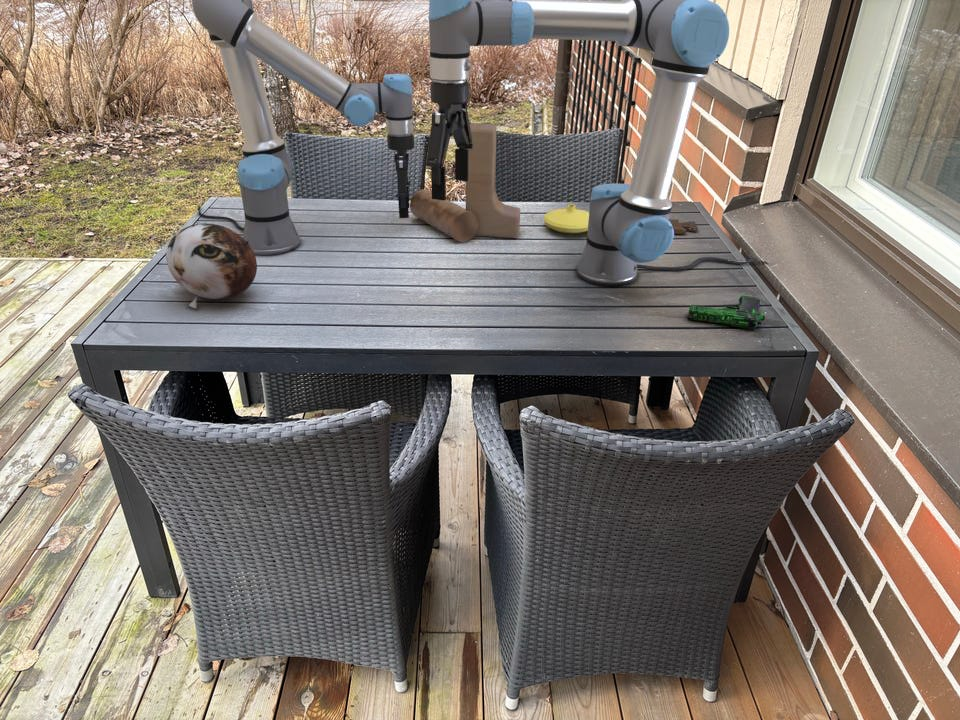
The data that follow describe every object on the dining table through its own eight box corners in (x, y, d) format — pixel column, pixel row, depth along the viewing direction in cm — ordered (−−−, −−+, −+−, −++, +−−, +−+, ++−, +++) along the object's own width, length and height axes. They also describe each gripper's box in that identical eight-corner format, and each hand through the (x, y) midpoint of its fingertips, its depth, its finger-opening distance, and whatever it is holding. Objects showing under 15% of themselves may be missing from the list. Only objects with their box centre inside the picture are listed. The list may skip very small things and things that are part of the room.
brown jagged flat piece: (700, 236, 208) (693, 224, 217) (701, 230, 207) (694, 219, 216) (612, 233, 208) (607, 221, 217) (613, 227, 207) (608, 216, 216)
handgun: (768, 297, 166) (764, 322, 154) (765, 309, 168) (761, 335, 156) (697, 286, 172) (687, 310, 159) (695, 297, 173) (685, 322, 161)
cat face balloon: (130, 285, 161) (164, 203, 163) (192, 308, 177) (221, 233, 178) (195, 307, 151) (229, 220, 152) (254, 330, 166) (285, 250, 168)
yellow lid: (559, 216, 220) (561, 193, 217) (605, 227, 212) (608, 204, 209) (532, 230, 209) (533, 207, 206) (580, 242, 201) (582, 218, 198)
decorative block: (517, 239, 203) (521, 131, 188) (465, 235, 205) (465, 128, 189) (519, 230, 209) (524, 124, 194) (469, 226, 211) (469, 122, 196)
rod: (404, 206, 213) (422, 183, 213) (422, 223, 219) (440, 200, 219) (446, 230, 196) (466, 205, 196) (465, 248, 202) (483, 223, 202)
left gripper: (413, 143, 190) (416, 224, 202) (414, 125, 208) (417, 201, 220) (384, 143, 190) (390, 225, 201) (388, 125, 208) (393, 201, 219)
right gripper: (445, 93, 125) (446, 210, 136) (488, 71, 146) (486, 174, 156) (405, 90, 127) (410, 205, 138) (453, 69, 148) (454, 171, 158)
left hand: (404, 212), depth 211 cm, fingers open, 8 cm apart
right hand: (450, 189), depth 147 cm, fingers open, 13 cm apart
